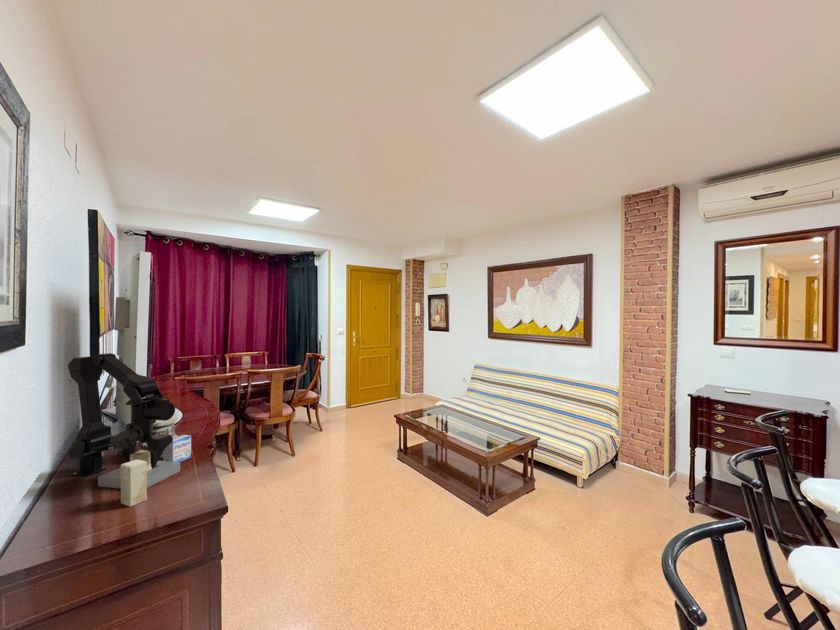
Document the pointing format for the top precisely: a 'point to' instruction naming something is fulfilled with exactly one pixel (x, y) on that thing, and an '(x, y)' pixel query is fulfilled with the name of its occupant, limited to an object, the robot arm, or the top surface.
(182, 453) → the medicine box
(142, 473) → the box
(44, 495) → the top surface
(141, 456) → the maple block
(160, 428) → the apothecary jar
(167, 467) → the pocket plate
